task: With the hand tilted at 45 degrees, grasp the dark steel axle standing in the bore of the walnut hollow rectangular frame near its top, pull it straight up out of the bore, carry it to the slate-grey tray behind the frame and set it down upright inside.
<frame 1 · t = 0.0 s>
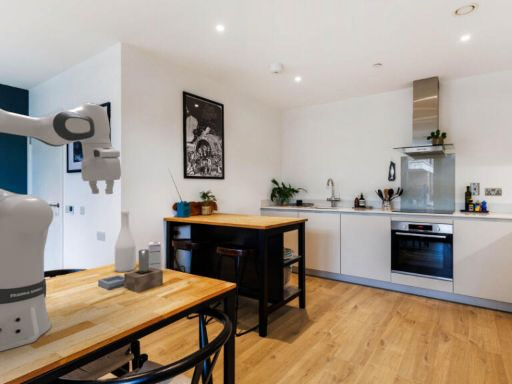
hand: (102, 194, 103), 39 cm above the table, tool pointing down, fingers open, 8 cm apart
steel axle: (143, 268, 124), in the walnut hollow rectangular frame
syrup box: (154, 273, 145), on the table
slate tray: (114, 285, 126), on the table
walnut hollow rectangular frame: (143, 286, 124), on the table
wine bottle: (125, 270, 150), on the table
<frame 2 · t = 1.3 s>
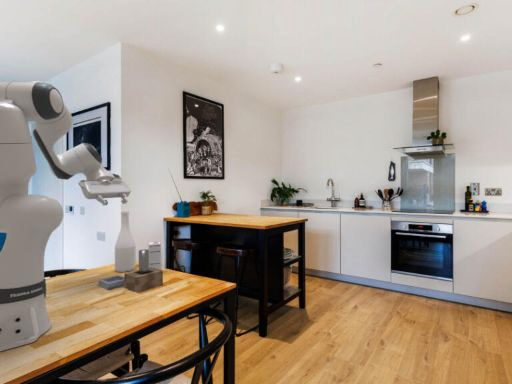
hand: (116, 203, 126), 34 cm above the table, tool tilted 45°, fingers open, 8 cm apart
nothing on the table moved.
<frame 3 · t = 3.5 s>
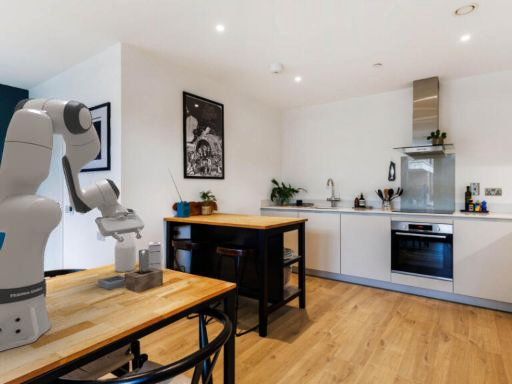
hand: (131, 239, 127), 19 cm above the table, tool tilted 45°, fingers open, 8 cm apart
nothing on the table moved.
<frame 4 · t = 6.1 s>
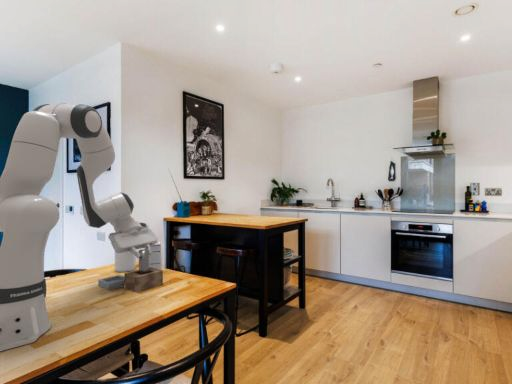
hand: (144, 255, 124), 13 cm above the table, tool tilted 45°, fingers closed on steel axle, 4 cm apart
steel axle: (143, 268, 124), in the walnut hollow rectangular frame, touching gripper
everything else where it was.
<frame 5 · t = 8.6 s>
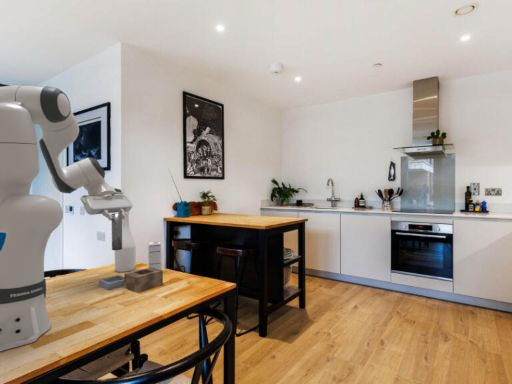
hand: (117, 218, 125), 28 cm above the table, tool tilted 45°, fingers closed on steel axle, 4 cm apart
steel axle: (116, 231, 126), point 23 cm above the table, touching gripper
everything else where it was.
when the fingers open (15 cm above the table, at t = 11.5 s): steel axle drops 1 cm, resting on slate tray.
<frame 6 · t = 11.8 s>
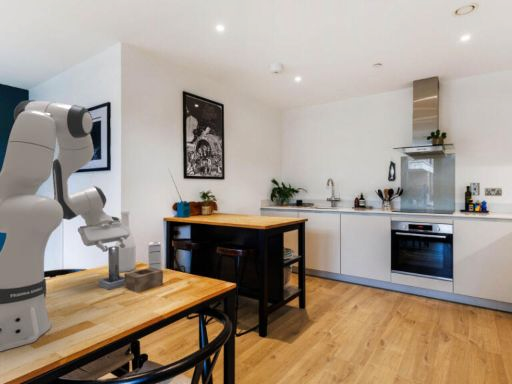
hand: (115, 248, 126), 15 cm above the table, tool tilted 45°, fingers open, 7 cm apart
steel axle: (113, 265, 126), in the slate tray, point 8 cm above the table
everything else where it was.
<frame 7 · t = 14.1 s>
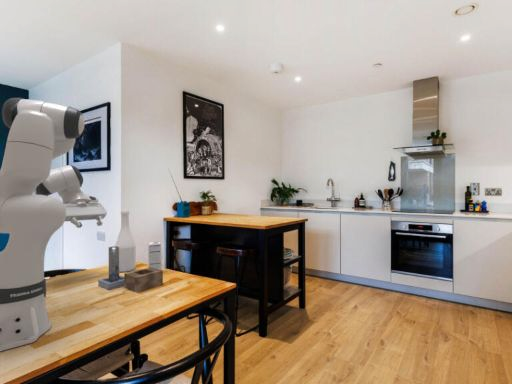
hand: (90, 225, 129), 25 cm above the table, tool tilted 45°, fingers open, 8 cm apart
nothing on the table moved.
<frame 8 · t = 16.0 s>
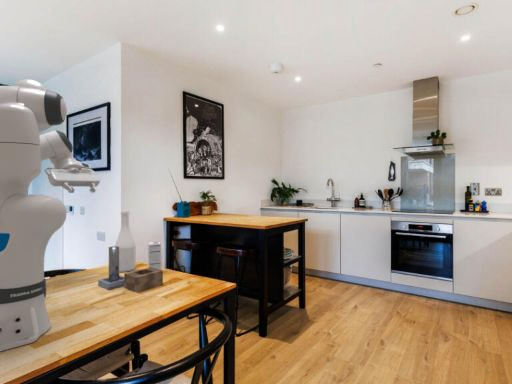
hand: (83, 191, 126), 39 cm above the table, tool tilted 45°, fingers open, 8 cm apart
nothing on the table moved.
at the end: steel axle 0.1 cm off-centre on the slate tray, point 8.5 cm above the slate tray's base; steel axle tilted 1°; the gripper is holding nothing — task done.
